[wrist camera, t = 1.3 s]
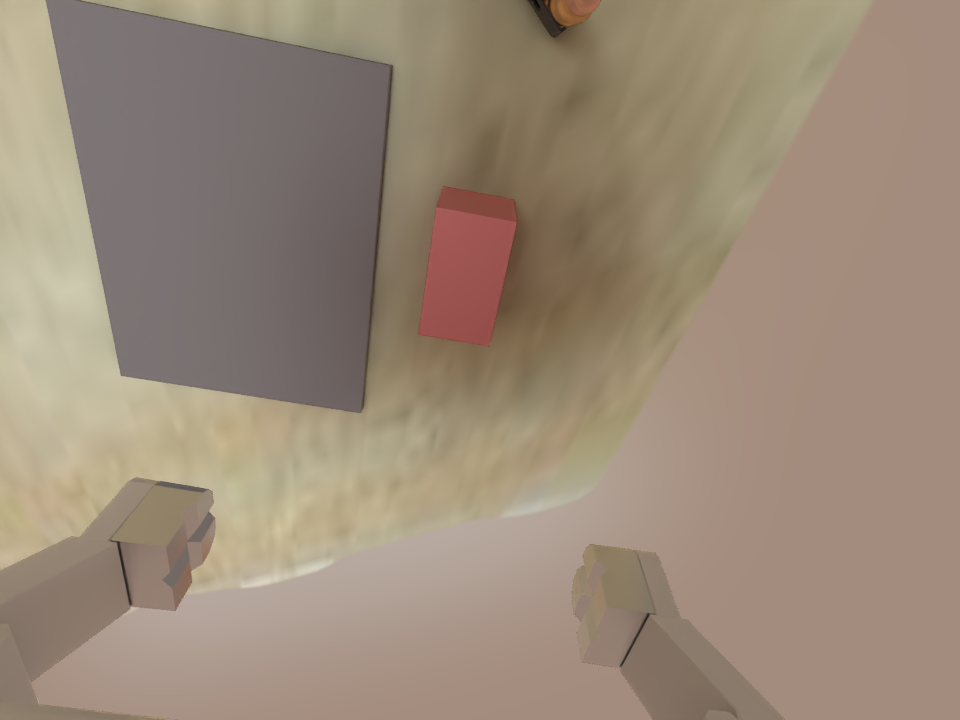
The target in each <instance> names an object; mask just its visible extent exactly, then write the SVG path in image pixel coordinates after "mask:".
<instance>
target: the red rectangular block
mask: <svg viewBox="0 0 960 720" xmlns="http://www.w3.org/2000/svg"><path fill="white" fill-rule="evenodd" d="M516 225H517V218H516V211H515V204H514V200H513V199H507V198H502V197H497V196H492V195H487V194H481V193H476V192H471V191H466V190H460V189H455V188H450V187H445V186H443V188H442V191H441V194H440V197H439V200H438V203H437V206H436V212H435V219H434V226H433V234H432V241H431V248H430V255H429V262H428V269H427V276H426V284H425V291H424V298H423V305H422V312H421V319H420V326H419V333H418V334H419V335H425V336H431V337H437V338H443V339H449V340H454V341H460V342H466V343H472V344H478V345H484V346H490V342H491V337H492V333H493V328H494V324H495V319H496V315H497V310H498V306H499V301H500V297H501V292H502V288H503V283H504V279H505V274H506V270H507V265H508V261H509V256H510V252H511V247H512V243H513V238H514V234H515V229H516Z"/></svg>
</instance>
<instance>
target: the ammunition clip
mask: <svg viewBox="0 0 960 720" xmlns="http://www.w3.org/2000/svg"><path fill="white" fill-rule="evenodd" d="M528 1H529V3H530V4H531V6H532V7H533V9H534V10H535V12H536V13H537V15H538V17H539V18H540V20H541V21H542V23H543V24H544V26H545V27H546V29H547V31H548V32H549V34H550V35H551V36H552V37H554V38H555V37H556V36H558V35H559V34H561V33H562V32H563V31H564V30H565V29H566V27H567V26H570V25H574V24H578V23H581V22H583V21H584V20H586V19H587V18H588V17H589V16H590V15H591V14H592V12H593V11H594V10H595V9H596V8H597V6H598V5H599V4H600V1H601V0H528Z"/></svg>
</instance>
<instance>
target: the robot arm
mask: <svg viewBox="0 0 960 720" xmlns="http://www.w3.org/2000/svg"><path fill="white" fill-rule="evenodd" d="M213 503H214V500H213V492H212V491H211V490H209V489H204V488H198V487H193V486H187V485H181V484H175V483H169V482H163V481H155V480H149V479H143V478H137V477H136V478H134V479H132V480H130V481H129V482H127V483H126V485H125V486H124V487H123V488H122V489H121V490H120V491H119V493H118V494H117V495H116V496H115V497H114V498H113V499H112V501H111V502H110V503H109V504H108V505H107V506H106V507H105V509H104V510H103V511H102V512H101V513H100V514H99V515H98V517H97V518H96V519H95V520H94V521H93V522H92V523H91V525H90V526H89V527H88V528H87V529H86V530H85V531H84V533H83V534H82V535H81V536H80V537H74V536H71V537H69V538H67V539H65V540H63V541H61V542H59V543H57V544H55V545H52V546H50V547H48V548H46V549H44V550H42V551H40V552H38V553H36V554H34V555H32V556H30V557H28V558H26V559H23V560H21V561H19V562H17V563H15V564H13V565H11V566H9V567H7V568H5V569H3V570H1V571H0V720H176V719H167V718H158V717H149V716H140V715H131V714H122V713H112V712H104V711H95V710H86V709H77V708H68V707H59V706H50V705H41V704H40V702H39V700H38V698H37V695H36V692H35V690H34V687H33V685H32V681H34V680H35V679H36V678H38V677H39V676H40V675H42V674H43V673H44V672H46V671H47V670H48V669H50V668H51V667H52V666H54V665H55V664H57V663H58V662H59V661H61V660H62V659H63V658H65V657H66V656H67V655H69V654H70V653H72V652H73V651H74V650H75V649H77V648H78V647H80V646H81V645H82V644H84V643H85V642H86V641H88V640H89V639H90V638H92V637H93V636H94V635H96V634H97V633H99V632H100V631H101V630H103V629H104V628H105V627H106V626H108V625H109V624H111V623H112V622H113V621H114V620H116V619H118V618H119V617H120V616H122V615H123V614H124V613H126V612H127V611H128V610H130V606H131V607H141V608H152V609H161V610H162V609H163V610H171V611H176V609H177V607H178V605H179V604H180V602H181V600H182V598H183V597H184V595H185V593H186V592H187V590H188V588H189V587H190V585H191V583H192V576H191V571H192V570H193V569H195V568H196V567H198V566H200V565H201V564H203V562H204V560H205V559H206V557H207V555H208V553H209V551H210V548H211V545H212V542H213V539H214V535H215V527H216V526H215V518H214V517H213V515H212V514H211V513H210V512H209V510H210V508H211V507H212V505H213ZM583 559H584V565H583V566H581V567H580V568H578V569H577V571H576V574H575V577H574V580H573V588H572V605H573V612H574V614H575V616H576V617H577V618H578V619H579V620H580V622H581V623H580V626H579V628H578V630H577V637H578V643H579V650H580V656H581V661H582V662H583V663H589V664H596V665H602V666H608V667H615V668H621V669H620V671H621V673H622V674H623V676H624V677H625V679H626V680H627V682H628V683H629V685H630V686H631V687H632V689H633V691H634V692H635V694H636V695H637V697H638V698H639V700H640V701H641V702H642V704H643V706H644V707H645V709H646V710H647V712H648V713H649V715H650V716H651V717H652V719H653V720H784V718H783V716H782V715H781V714H780V713H779V712H778V711H777V710H776V709H775V708H774V707H773V706H772V705H771V704H770V703H769V702H768V701H767V700H766V699H765V698H764V697H763V696H762V695H761V694H760V693H759V692H758V691H757V690H756V689H755V688H754V687H753V686H752V685H751V684H750V683H749V682H748V681H747V680H746V679H745V678H744V677H743V675H742V674H741V673H740V672H739V671H737V669H736V668H735V667H734V666H733V665H732V664H731V663H730V662H729V661H728V660H727V659H726V658H725V657H724V656H723V655H722V654H721V653H720V652H719V651H718V650H717V649H716V648H715V647H714V646H713V645H712V644H711V643H710V642H709V641H708V640H707V639H706V638H705V637H704V636H703V635H702V634H701V633H700V632H699V630H698V629H697V628H696V627H695V626H693V624H692V623H691V622H690V621H689V620H687V619H681V616H680V614H679V611H678V608H677V605H676V603H675V600H674V597H673V594H672V591H671V589H670V586H669V583H668V580H667V577H666V575H665V572H664V569H663V566H662V563H661V561H660V558H659V556H658V555H657V554H656V553H653V552H646V551H638V550H631V549H625V548H617V547H610V546H602V545H594V544H589V545H588V546H587V547H586V549H585V551H584V554H583Z"/></svg>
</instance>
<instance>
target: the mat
mask: <svg viewBox="0 0 960 720" xmlns="http://www.w3.org/2000/svg"><path fill="white" fill-rule="evenodd" d="M46 3H47V8H48V13H49V18H50V23H51V28H52V33H53V38H54V43H55V48H56V53H57V58H58V63H59V68H60V73H61V78H62V83H63V88H64V93H65V98H66V103H67V108H68V113H69V118H70V123H71V128H72V133H73V138H74V143H75V148H76V153H77V158H78V163H79V168H80V173H81V178H82V183H83V188H84V193H85V198H86V203H87V208H88V213H89V218H90V223H91V228H92V233H93V238H94V243H95V248H96V253H97V258H98V263H99V268H100V273H101V278H102V283H103V288H104V293H105V298H106V303H107V308H108V313H109V318H110V323H111V328H112V333H113V338H114V343H115V348H116V353H117V358H118V363H119V368H120V373H121V376H126V377H132V378H139V379H145V380H152V381H158V382H164V383H171V384H177V385H184V386H190V387H196V388H203V389H209V390H216V391H222V392H229V393H235V394H241V395H248V396H254V397H261V398H267V399H273V400H280V401H286V402H293V403H299V404H305V405H312V406H318V407H325V408H331V409H337V410H344V411H350V412H357V413H361V412H362V409H363V403H364V391H365V379H366V368H367V356H368V344H369V333H370V321H371V309H372V298H373V286H374V274H375V263H376V251H377V239H378V228H379V216H380V204H381V192H382V181H383V169H384V157H385V146H386V134H387V122H388V111H389V99H390V87H391V76H392V65H388V64H383V63H378V62H374V61H369V60H364V59H359V58H354V57H350V56H345V55H340V54H335V53H330V52H325V51H321V50H316V49H311V48H306V47H301V46H297V45H292V44H287V43H282V42H277V41H273V40H268V39H263V38H258V37H253V36H249V35H244V34H239V33H234V32H229V31H225V30H220V29H215V28H210V27H205V26H201V25H196V24H191V23H186V22H181V21H177V20H172V19H167V18H162V17H157V16H152V15H148V14H143V13H138V12H133V11H128V10H124V9H119V8H114V7H109V6H104V5H100V4H95V3H90V2H85V1H80V0H46Z"/></svg>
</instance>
